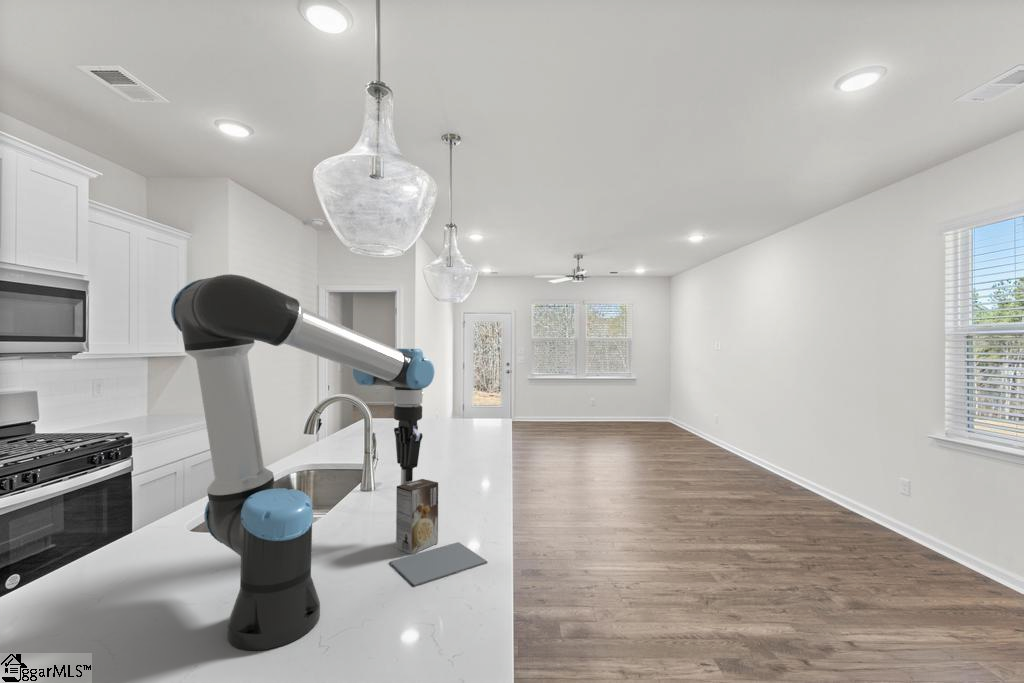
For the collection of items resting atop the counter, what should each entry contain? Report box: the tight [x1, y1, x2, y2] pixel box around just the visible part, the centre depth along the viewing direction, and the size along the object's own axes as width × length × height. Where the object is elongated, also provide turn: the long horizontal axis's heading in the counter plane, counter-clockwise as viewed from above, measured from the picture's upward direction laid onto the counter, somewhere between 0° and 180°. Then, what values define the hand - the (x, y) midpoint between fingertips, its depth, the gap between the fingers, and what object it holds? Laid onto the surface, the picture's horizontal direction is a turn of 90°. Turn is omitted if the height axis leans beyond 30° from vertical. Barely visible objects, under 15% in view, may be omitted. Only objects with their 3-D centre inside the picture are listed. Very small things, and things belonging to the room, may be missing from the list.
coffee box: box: [395, 478, 439, 555], centre depth 119 cm, size 9×6×16 cm
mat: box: [389, 541, 488, 587], centre depth 110 cm, size 19×14×1 cm
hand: (406, 492), depth 124 cm, fingers closed
